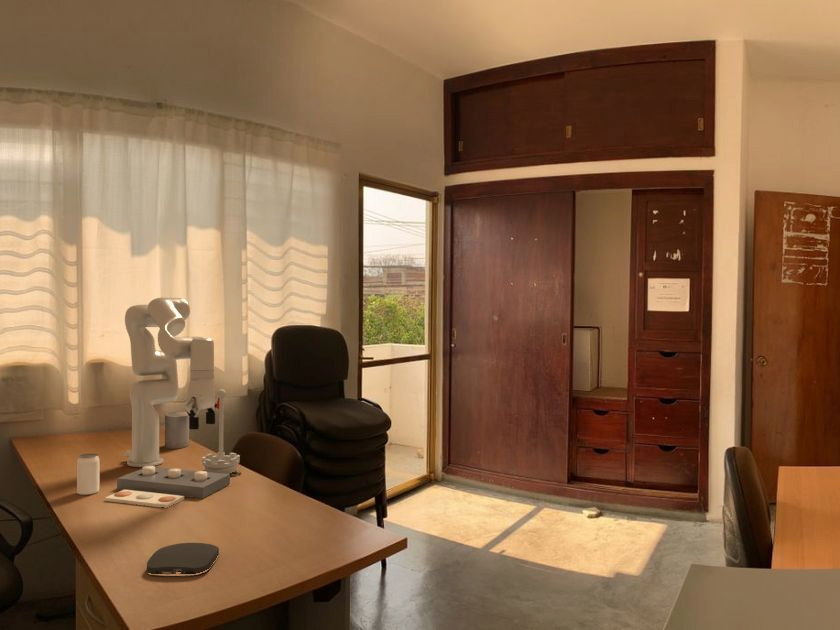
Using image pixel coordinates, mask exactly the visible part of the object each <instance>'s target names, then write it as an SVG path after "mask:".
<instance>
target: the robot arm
mask: <svg viewBox="0 0 840 630" xmlns="http://www.w3.org/2000/svg"><path fill="white" fill-rule="evenodd" d="M190 314H191V306H190V305H189V302H188V301H187V300H186V299H184V298H182V297H157V298H154V299H152V300H151V301H150V302H149V303H148V304H136V305H132V306H130V307H128V308H127V309H126V312H125V315H124V324H125V330H126V332H127V334H128V337H129V341H130V355H131V356H130V357H131V368H132V372H133V374H134V375H135V376H137V377H154V376H160V377H161V378H156V379H155V378H151V379H150V378H149V379H142V380H138V381H136V382H133V383H132V384H131V385H130V387H129V392H128V394H129V399H130V404H131V405H130V406H131V450H126V451H125V452H124V454H123V457H125V458H129V459H128V460H127V462H126V463H127V464H126V465H127V466H129V467H132V468H143V467H145V466H155V467H157V466H159V465H161V464H163V463H164V458H163V457H161V456H160V415H159V413H158V411H157V410H156V408H155V407H154V406H155V405H161V404H162V405H163V404H170V403H174V402H175V401H176V400H177V399H178V397H179V377H178V376H179V375H178V364H177V360H178V361H179V360H190V361H189V365H190V366H189V369H190V371H189V372H190V373H189V375H190V380H189V382H188V387H187V388H188V389H187V398H186V404H185V406H184V407H185V411H186V412H187V414H188V417H189V430H195V431H196V430H199V427H200V423H199V420H200V418H199V414H200V411H204V410H206V412H205V424H206V425H215V424H216V412H217V408H216V407H217V401H218V398H219V397H217V396H216V386H215V385H216V384H215V341H214V340H213V338H209V337H203V336H178V335H180V334H181V333H182V332H183V331H184V329H185V327H186V320H187V319H188V318H189V317H190ZM147 328H159V330H158V333H157V345H158V347H159V349H160V350H156V344H155V343H156V342H155V341H156V340H155V338H154V335H153V334H152V333H151V331H150V330H149V329H147Z"/></svg>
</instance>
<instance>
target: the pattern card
mask: <svg viewBox="0 0 840 630" xmlns="http://www.w3.org/2000/svg"><path fill="white" fill-rule="evenodd" d="M184 500H185V496H179V495H170V494H161V493H152V492H143V491H134V490H123V489H121V490H120V491H118V492H114V493H113V494H110V495H107V496H105V497H104V501H105V502H109V503H110V502H113V503H121V504H127V505H136V504H137V505H138V506H144V505H145V506H146V507H153V508H161V507H164V508H163V509H168V508H170V507H171V505H172V506H174V505H175V504H177V503H180V502H182V501H184ZM173 504H174V505H173ZM145 506H144V507H145ZM169 506H170V507H169ZM167 507H168V508H167Z"/></svg>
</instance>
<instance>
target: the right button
mask: <svg viewBox="0 0 840 630" xmlns="http://www.w3.org/2000/svg"><path fill="white" fill-rule="evenodd" d="M197 471H198V472H195V475H194V481H201V482H204V481H206V480H207V472H206V471H205V470H197Z"/></svg>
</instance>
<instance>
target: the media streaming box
mask: <svg viewBox="0 0 840 630" xmlns="http://www.w3.org/2000/svg"><path fill="white" fill-rule="evenodd" d="M219 550H220V548H219V546H217V545H214V544H210V543H205V542H183V543H181V542H180V543H175V544H170V545H167V546H166V545H165V546H163V547H160V548H159V549H157V550H156V551H154V552H153V554H151V556H150V557H149V558H148V560H147V562H146V573H147V572H148V573H151V574H176V572H181V573H180V574H196V573H200V572H203V571H205V570H207V569H209V568H210V567H211V565H212V564H213V562H214V561H215V560H216V558H217V556H218V555H219V554H220V551H219ZM219 556H220V555H219ZM148 573H147V574H148Z"/></svg>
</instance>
